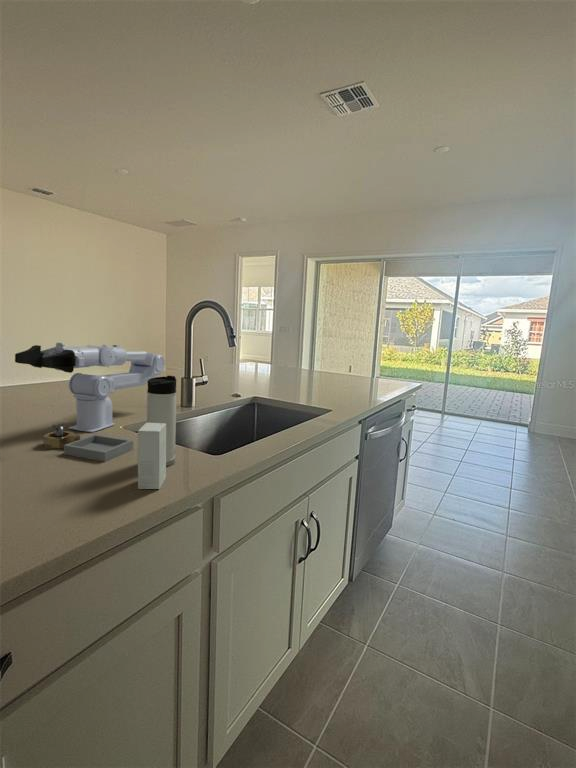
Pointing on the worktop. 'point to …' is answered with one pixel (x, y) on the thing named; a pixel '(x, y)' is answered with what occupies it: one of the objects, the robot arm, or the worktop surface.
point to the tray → (98, 447)
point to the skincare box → (151, 455)
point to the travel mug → (163, 410)
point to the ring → (59, 439)
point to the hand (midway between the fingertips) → (29, 360)
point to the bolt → (59, 429)
